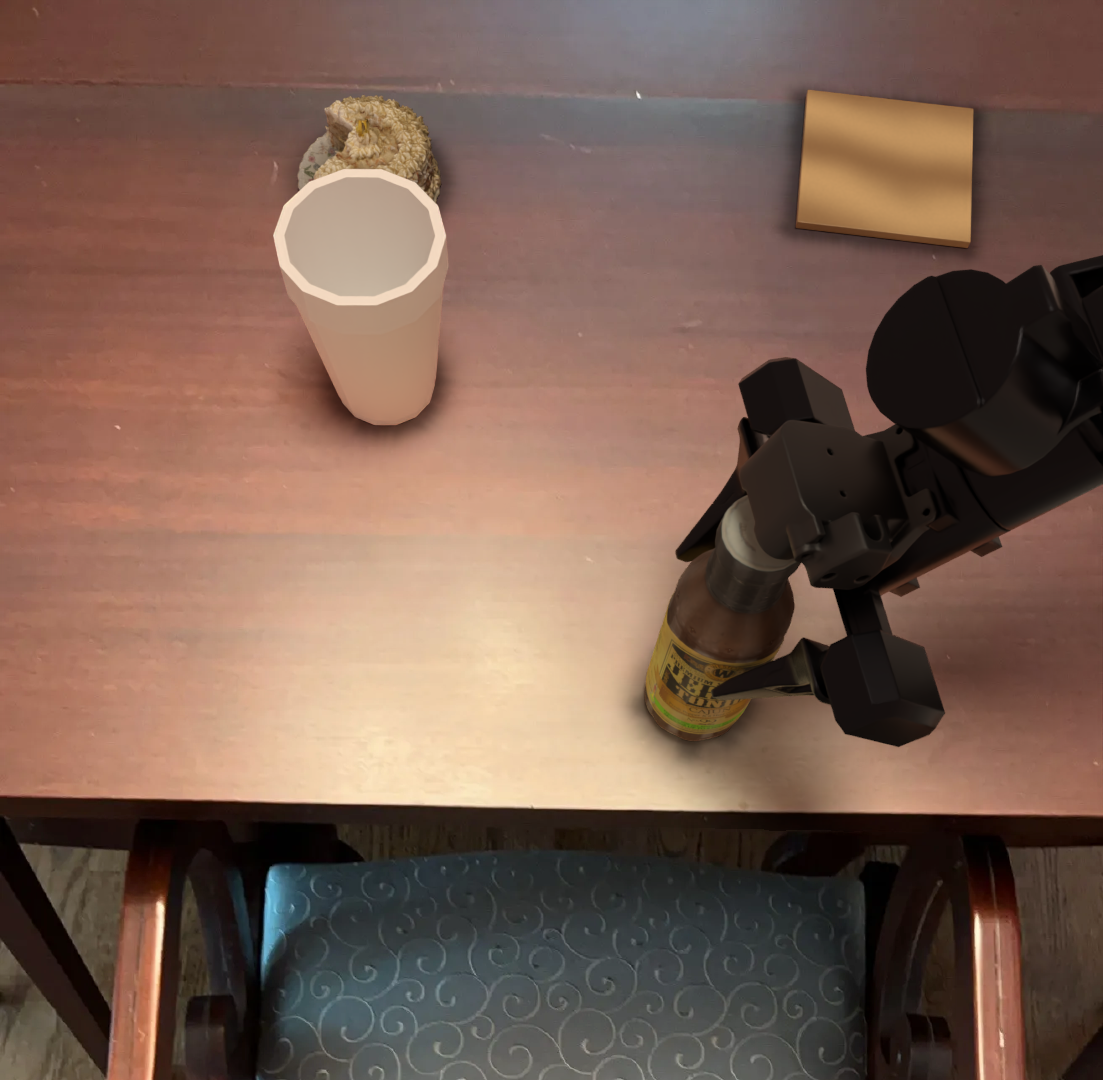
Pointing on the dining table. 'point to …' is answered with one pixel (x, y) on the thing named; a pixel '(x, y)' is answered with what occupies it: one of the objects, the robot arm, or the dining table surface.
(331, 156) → the cake
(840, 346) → the dining table surface
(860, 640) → the robot arm
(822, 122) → the cork mat
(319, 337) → the foam cup
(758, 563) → the sauce bottle
